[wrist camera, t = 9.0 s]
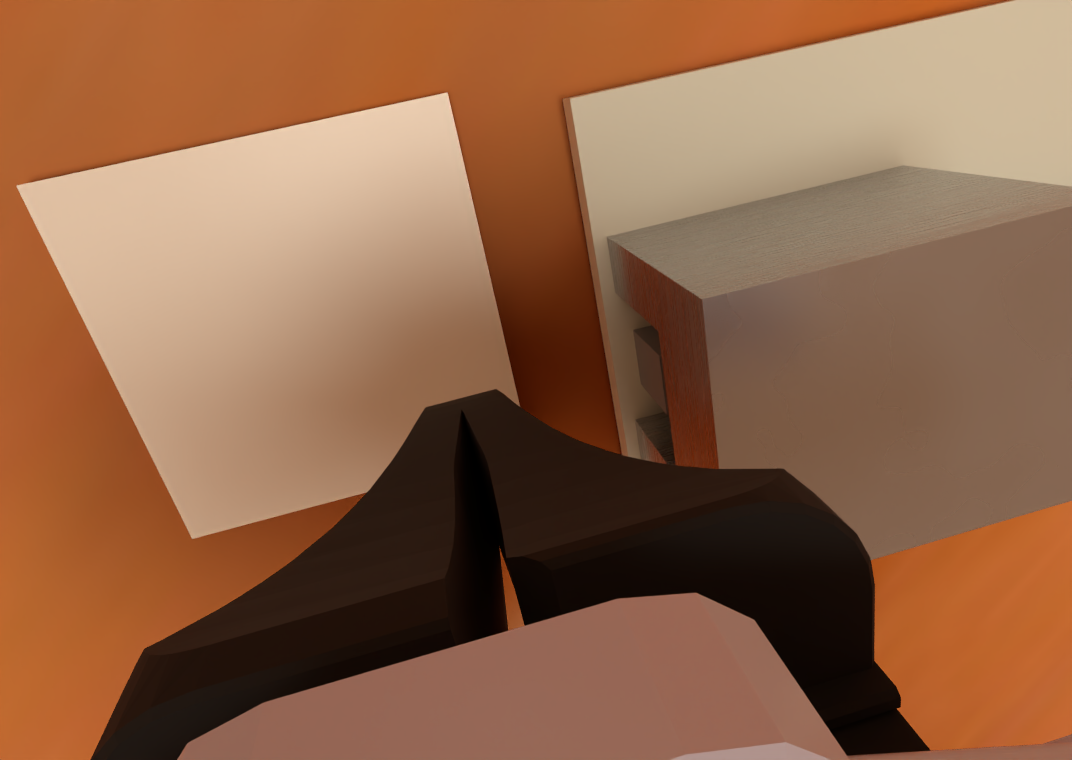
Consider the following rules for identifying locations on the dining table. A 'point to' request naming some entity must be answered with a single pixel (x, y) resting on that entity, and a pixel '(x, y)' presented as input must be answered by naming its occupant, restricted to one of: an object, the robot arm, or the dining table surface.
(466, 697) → the robot arm
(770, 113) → the rail board
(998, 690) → the dining table surface
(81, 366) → the dining table surface
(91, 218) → the pad
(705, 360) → the clip
